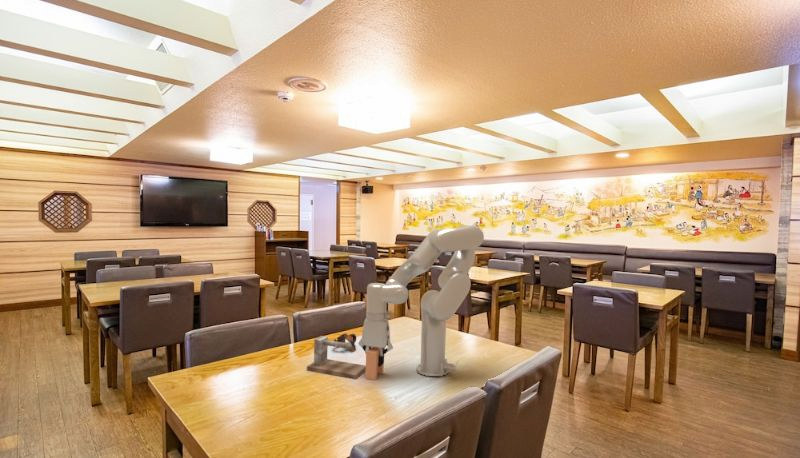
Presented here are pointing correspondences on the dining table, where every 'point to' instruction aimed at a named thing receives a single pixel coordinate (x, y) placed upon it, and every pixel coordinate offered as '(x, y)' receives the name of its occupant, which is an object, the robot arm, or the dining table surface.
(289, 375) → the dining table surface
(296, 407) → the dining table surface
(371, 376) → the saddle clip
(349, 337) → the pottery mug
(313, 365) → the hook stand
